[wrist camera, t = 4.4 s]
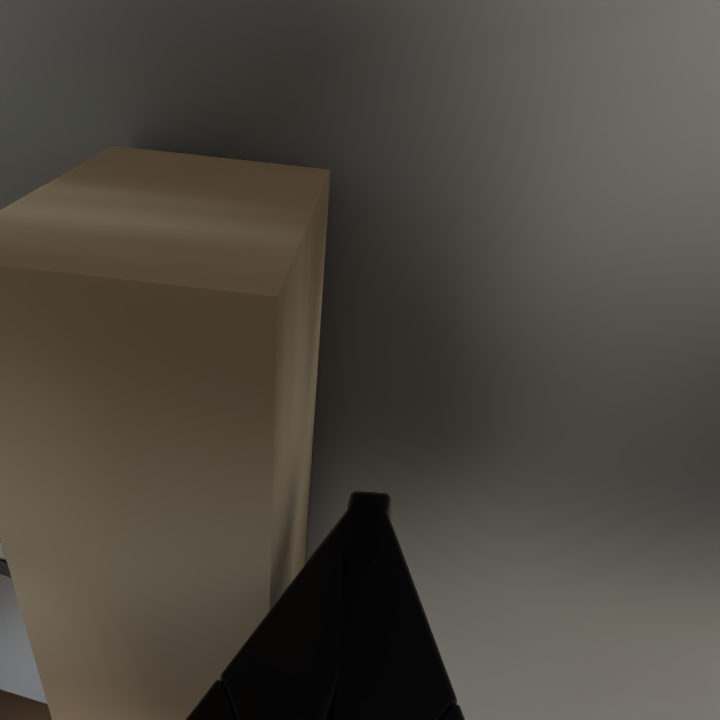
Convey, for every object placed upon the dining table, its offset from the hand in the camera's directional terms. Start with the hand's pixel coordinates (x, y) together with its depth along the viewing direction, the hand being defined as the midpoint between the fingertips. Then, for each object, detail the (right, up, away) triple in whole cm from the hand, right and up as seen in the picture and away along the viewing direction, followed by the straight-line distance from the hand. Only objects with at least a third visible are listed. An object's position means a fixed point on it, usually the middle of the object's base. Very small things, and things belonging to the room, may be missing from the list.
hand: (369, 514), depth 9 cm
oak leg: (-3, -2, +4) cm, 5 cm away
